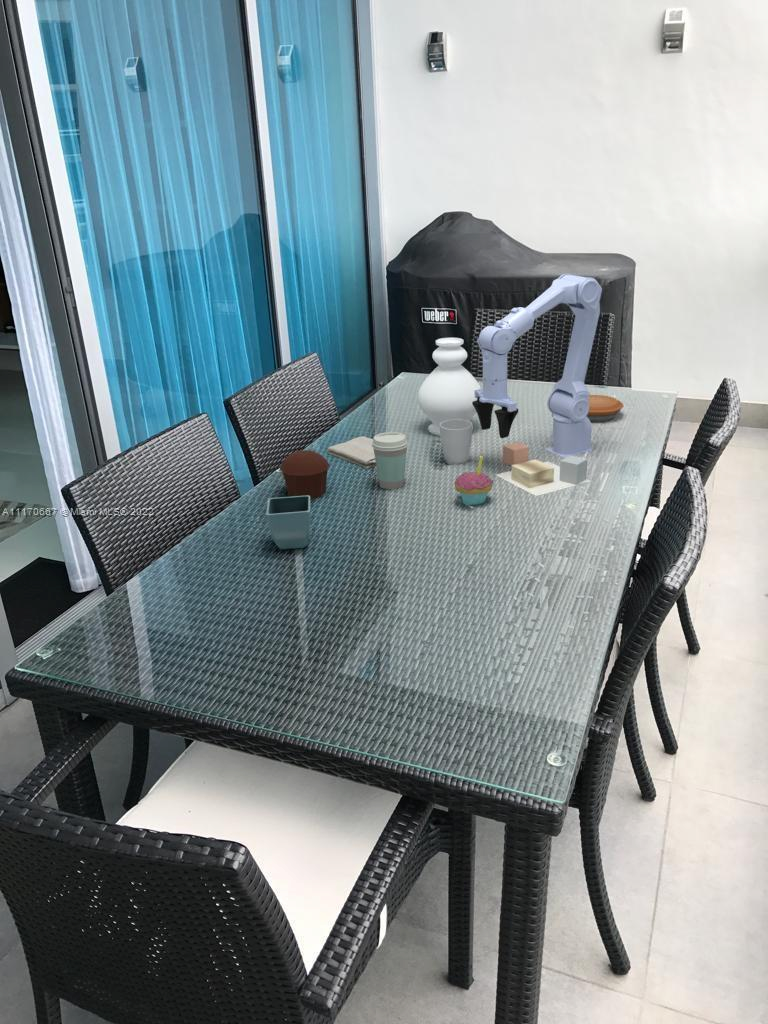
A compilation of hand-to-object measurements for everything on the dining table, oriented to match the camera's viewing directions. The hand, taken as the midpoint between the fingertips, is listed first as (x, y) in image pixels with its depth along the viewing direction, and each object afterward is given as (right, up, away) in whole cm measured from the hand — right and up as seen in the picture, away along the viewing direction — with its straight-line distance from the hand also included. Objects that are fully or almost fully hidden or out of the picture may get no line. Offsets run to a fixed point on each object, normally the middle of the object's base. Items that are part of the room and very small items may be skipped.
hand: (494, 432), depth 211 cm
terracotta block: (+6, -7, +7) cm, 12 cm away
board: (+11, -12, -4) cm, 16 cm away
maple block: (+8, -12, -5) cm, 15 cm away
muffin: (-45, -15, -4) cm, 48 cm away
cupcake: (-7, -17, -14) cm, 23 cm away
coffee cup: (-25, -13, -2) cm, 28 cm away
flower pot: (-46, -26, -30) cm, 61 cm away
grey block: (+18, -12, -6) cm, 22 cm away
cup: (-8, -7, +10) cm, 15 cm away
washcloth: (-32, -5, +18) cm, 37 cm away
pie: (+34, +8, +40) cm, 53 cm away
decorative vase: (-8, +4, +34) cm, 35 cm away
